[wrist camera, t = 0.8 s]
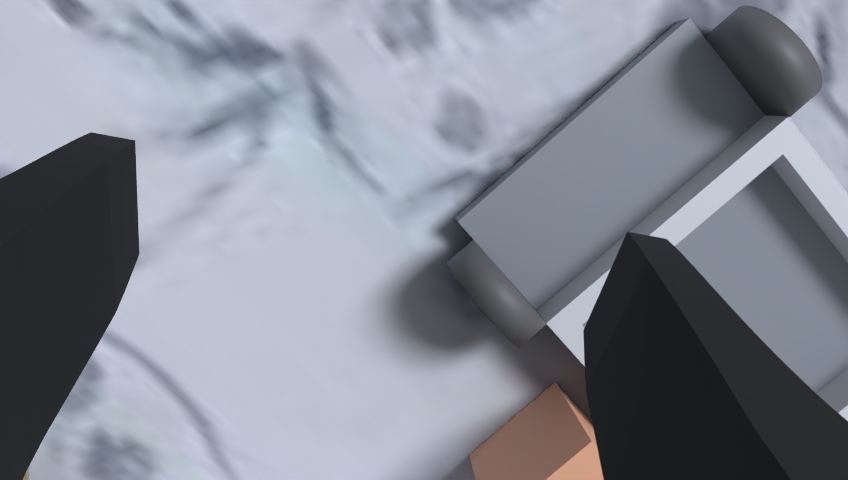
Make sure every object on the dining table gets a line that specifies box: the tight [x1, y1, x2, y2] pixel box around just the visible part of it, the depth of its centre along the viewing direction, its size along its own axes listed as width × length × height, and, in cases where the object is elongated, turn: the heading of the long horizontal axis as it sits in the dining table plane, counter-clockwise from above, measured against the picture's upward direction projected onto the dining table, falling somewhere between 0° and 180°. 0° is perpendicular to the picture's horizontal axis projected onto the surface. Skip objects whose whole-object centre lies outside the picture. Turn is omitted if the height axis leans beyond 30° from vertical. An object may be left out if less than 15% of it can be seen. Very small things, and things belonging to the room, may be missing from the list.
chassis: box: [446, 6, 848, 421], centre depth 31 cm, size 22×15×4 cm
